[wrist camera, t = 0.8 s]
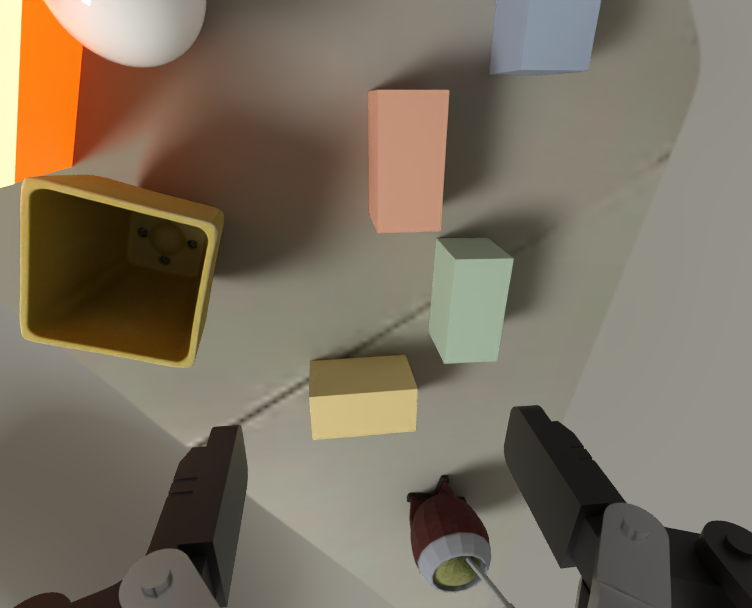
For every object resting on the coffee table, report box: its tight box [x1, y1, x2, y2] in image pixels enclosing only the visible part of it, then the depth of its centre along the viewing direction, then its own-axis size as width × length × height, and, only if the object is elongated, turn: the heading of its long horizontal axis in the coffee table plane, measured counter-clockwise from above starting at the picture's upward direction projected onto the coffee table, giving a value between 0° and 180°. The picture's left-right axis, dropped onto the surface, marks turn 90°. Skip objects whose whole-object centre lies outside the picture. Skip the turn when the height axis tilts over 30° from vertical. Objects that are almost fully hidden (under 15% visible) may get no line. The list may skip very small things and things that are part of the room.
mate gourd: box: [407, 475, 515, 608], centre depth 38 cm, size 8×8×15 cm
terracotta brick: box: [368, 90, 449, 233], centre depth 28 cm, size 8×4×5 cm, turn 0°
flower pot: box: [20, 175, 224, 367], centre depth 26 cm, size 9×9×9 cm
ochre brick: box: [309, 355, 418, 440], centre depth 35 cm, size 8×4×5 cm, turn 90°
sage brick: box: [429, 238, 514, 364], centre depth 33 cm, size 8×4×5 cm, turn 178°
